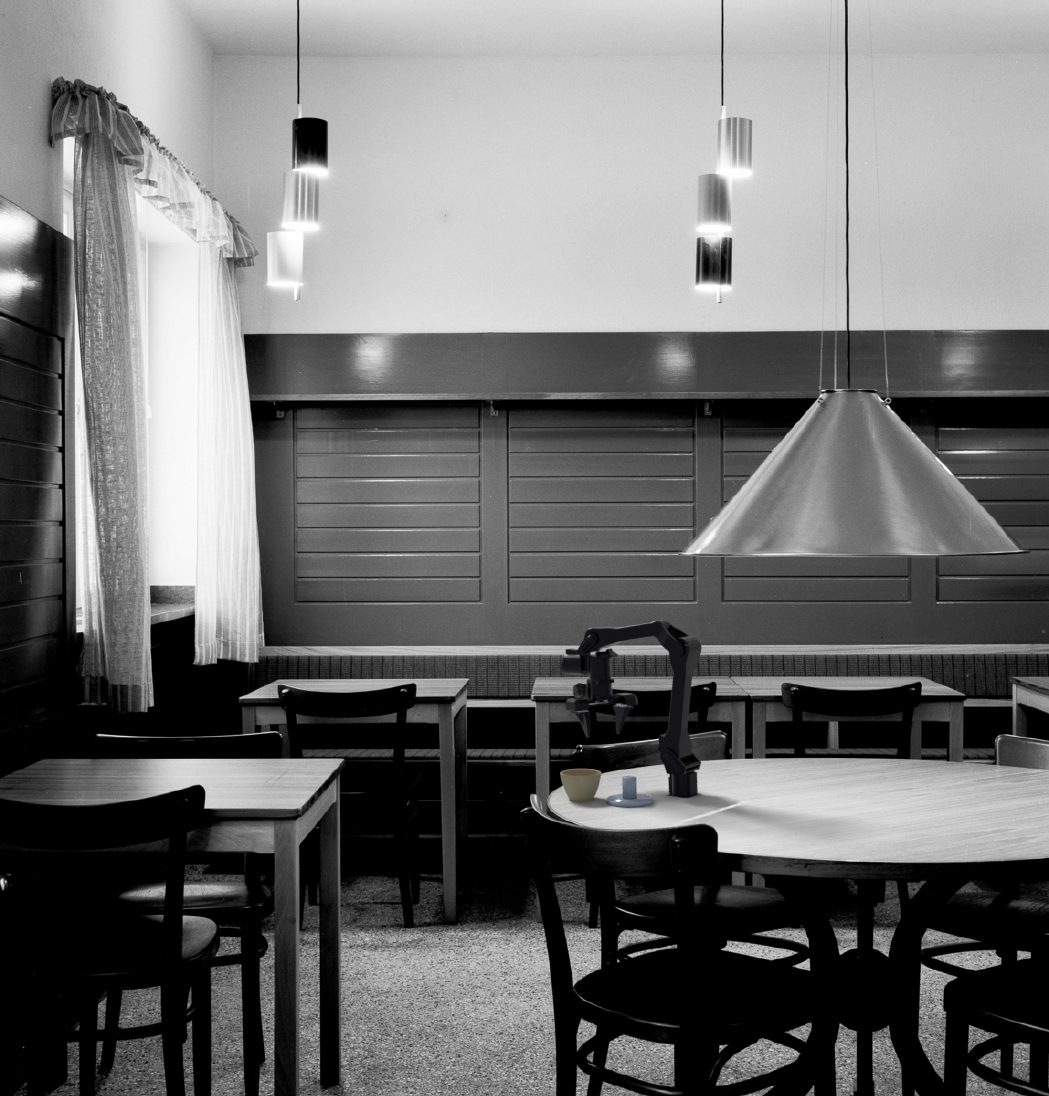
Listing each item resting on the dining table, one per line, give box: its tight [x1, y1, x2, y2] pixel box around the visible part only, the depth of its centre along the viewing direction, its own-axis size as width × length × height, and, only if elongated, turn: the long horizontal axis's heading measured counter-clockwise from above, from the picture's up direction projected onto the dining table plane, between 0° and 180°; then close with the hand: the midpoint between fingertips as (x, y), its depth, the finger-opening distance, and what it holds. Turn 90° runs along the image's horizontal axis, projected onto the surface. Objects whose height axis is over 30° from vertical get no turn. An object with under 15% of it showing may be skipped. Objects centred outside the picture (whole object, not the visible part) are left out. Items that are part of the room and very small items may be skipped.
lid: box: [606, 775, 654, 808], centre depth 275 cm, size 11×11×6 cm
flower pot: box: [560, 768, 602, 803], centre depth 281 cm, size 10×10×7 cm
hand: (603, 735), depth 296 cm, fingers open, 9 cm apart
